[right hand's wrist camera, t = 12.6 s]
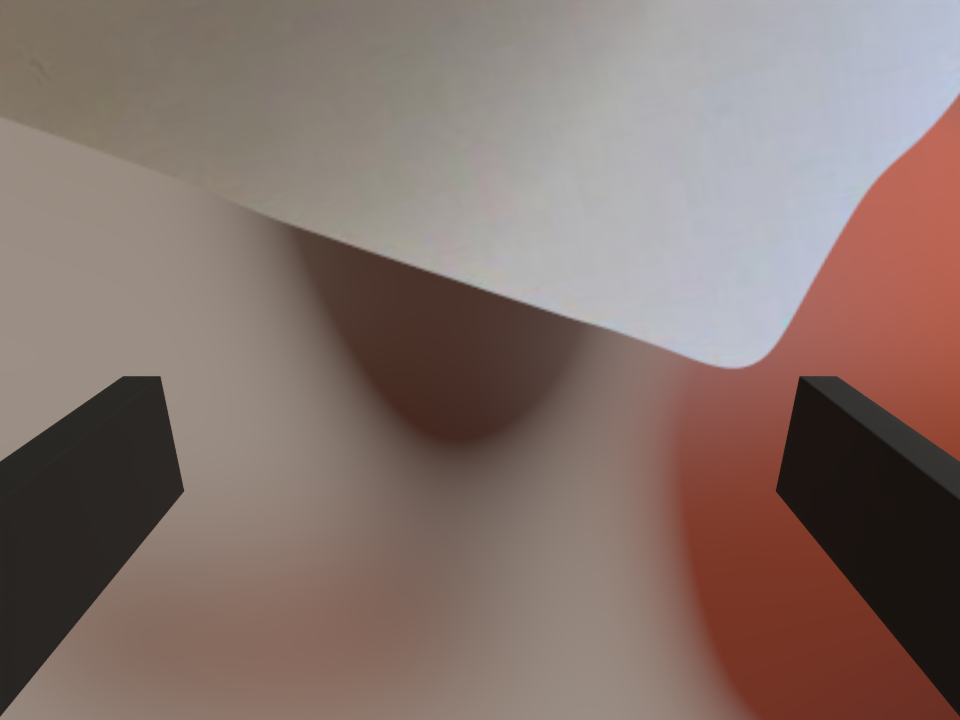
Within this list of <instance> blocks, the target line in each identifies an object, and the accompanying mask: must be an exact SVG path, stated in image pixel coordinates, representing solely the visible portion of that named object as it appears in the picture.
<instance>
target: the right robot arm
mask: <svg viewBox="0 0 960 720" xmlns="http://www.w3.org/2000/svg"><path fill="white" fill-rule="evenodd" d="M183 492H184V488H183V483H182V478H181V474H180V469H179V464H178V459H177V454H176V449H175V445H174V440H173V435H172V430H171V425H170V420H169V416H168V411H167V406H166V401H165V396H164V391H163V387H162V382H161V377H160V376H123V377H122V378H120V379H119V380H117V381H116V382H114V383H113V384H111V385H110V386H109V387H107V388H106V389H104V390H103V391H101V392H100V393H98V394H97V395H96V396H94V397H93V398H91V399H90V400H88V401H87V402H85V403H84V404H83V405H81V406H80V407H78V408H77V409H75V410H74V411H73V412H71V413H70V414H68V415H67V416H65V417H64V418H62V419H61V420H60V421H58V422H57V423H55V424H54V425H52V426H51V427H49V428H48V429H47V430H45V431H44V432H42V433H41V434H39V435H38V436H36V437H35V438H34V439H32V440H31V441H29V442H28V443H26V444H25V445H24V446H22V447H21V448H19V449H18V450H16V451H15V452H13V453H12V454H11V455H9V456H8V457H6V458H5V459H3V460H2V461H0V716H1V715H2V714H3V713H4V711H5V710H6V709H7V708H8V706H9V705H10V704H11V703H12V701H13V700H14V699H15V698H16V697H17V695H18V694H19V693H20V692H21V690H22V689H23V688H24V687H25V685H26V684H27V683H28V682H29V681H30V679H31V678H32V677H33V676H34V675H35V673H36V672H37V671H38V670H39V668H40V667H41V666H42V665H43V663H44V662H45V661H46V660H47V658H48V657H49V656H50V655H51V654H52V652H53V651H54V650H55V649H56V648H57V646H58V645H59V644H60V643H61V641H62V640H63V639H64V638H65V636H66V635H67V634H68V633H69V632H70V630H71V629H72V628H73V627H74V626H75V624H76V623H77V622H78V621H79V619H80V618H81V617H82V616H83V614H84V613H85V612H86V611H87V609H88V608H89V607H90V606H91V605H92V603H93V602H94V601H95V600H96V599H97V597H98V596H99V595H100V594H101V592H102V591H103V590H104V589H105V588H106V586H107V585H108V584H109V583H110V581H111V580H112V579H113V578H114V576H115V575H116V574H117V573H118V572H119V570H120V569H121V568H122V567H123V565H124V564H125V563H126V562H127V561H128V559H129V558H130V557H131V556H132V554H133V553H134V552H135V551H136V549H137V548H138V547H139V546H140V545H141V543H142V542H143V541H144V540H145V538H146V537H147V536H148V535H149V534H150V532H151V531H152V530H153V529H154V527H155V526H156V525H157V524H158V523H159V521H160V520H161V519H162V518H163V516H164V515H165V514H166V513H167V512H168V510H169V509H170V508H171V507H172V505H173V504H174V503H175V502H176V501H177V499H178V498H179V497H180V495H181V494H182V493H183ZM776 492H777V493H778V494H779V496H780V497H781V498H782V499H783V500H784V502H785V503H786V504H787V505H788V507H789V508H790V509H791V510H792V512H793V513H794V514H795V515H796V516H797V518H798V519H799V520H800V521H801V523H802V524H803V525H804V526H805V527H806V529H807V530H808V531H809V532H810V534H811V535H812V536H813V537H814V538H815V540H816V541H817V542H818V543H819V545H820V546H821V547H822V548H823V549H824V551H825V552H826V553H827V554H828V556H829V557H830V558H831V559H832V561H833V562H834V563H835V564H836V565H837V567H838V568H839V569H840V570H841V572H842V573H843V574H844V575H845V576H846V578H847V579H848V580H849V581H850V583H851V584H852V585H853V586H854V588H855V589H856V590H857V591H858V592H859V594H860V595H861V596H862V597H863V599H864V600H865V601H866V602H867V603H868V605H869V606H870V607H871V608H872V610H873V611H874V612H875V613H876V614H877V616H878V617H879V618H880V619H881V620H882V622H883V623H884V624H885V626H886V627H887V628H888V629H889V630H890V632H891V633H892V634H893V635H894V637H895V638H896V639H897V640H898V641H899V643H900V644H901V645H902V646H903V647H904V649H905V650H906V651H907V652H908V654H909V655H910V656H911V657H912V659H913V660H914V661H915V662H916V663H917V665H918V666H919V667H920V668H921V670H922V671H923V672H924V673H925V675H926V676H927V677H928V678H929V679H930V681H931V682H932V683H933V684H934V686H935V687H936V688H937V689H938V690H939V692H940V693H941V694H942V695H943V697H944V698H945V699H946V700H947V701H948V703H949V704H950V705H951V706H952V708H953V709H954V710H955V711H956V713H957V714H958V715H959V716H960V461H958V460H957V459H955V458H954V457H952V456H951V455H949V454H948V453H947V452H945V451H944V450H942V449H941V448H939V447H938V446H936V445H935V444H934V443H932V442H931V441H929V440H928V439H926V438H925V437H923V436H922V435H921V434H919V433H918V432H916V431H915V430H913V429H912V428H911V427H909V426H908V425H906V424H905V423H903V422H902V421H900V420H899V419H898V418H896V417H895V416H893V415H892V414H890V413H889V412H888V411H886V410H885V409H883V408H882V407H880V406H879V405H877V404H876V403H875V402H873V401H872V400H870V399H869V398H867V397H866V396H864V395H863V394H862V393H860V392H859V391H857V390H856V389H854V388H853V387H851V386H850V385H849V384H847V383H846V382H844V381H843V380H841V379H840V378H838V377H837V376H800V377H799V382H798V387H797V391H796V396H795V401H794V406H793V411H792V415H791V421H790V425H789V430H788V435H787V440H786V445H785V449H784V454H783V459H782V464H781V469H780V474H779V478H778V483H777V488H776Z"/></svg>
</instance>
